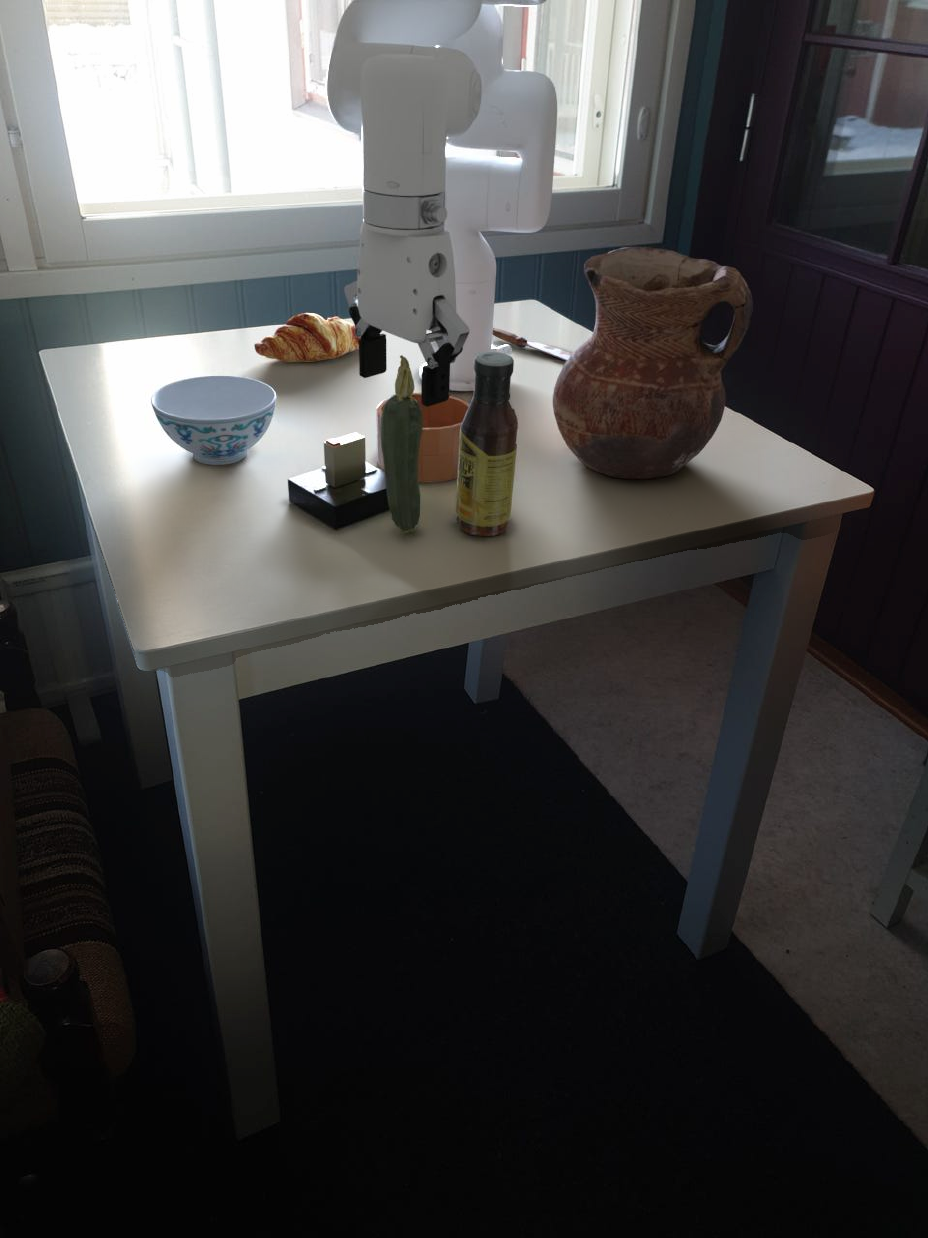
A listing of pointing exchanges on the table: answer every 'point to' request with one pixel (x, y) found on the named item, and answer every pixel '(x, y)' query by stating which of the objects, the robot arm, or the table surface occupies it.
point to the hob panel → (340, 497)
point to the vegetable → (402, 450)
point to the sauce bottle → (487, 449)
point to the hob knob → (344, 459)
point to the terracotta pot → (434, 439)
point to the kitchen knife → (530, 344)
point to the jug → (649, 362)
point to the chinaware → (215, 415)
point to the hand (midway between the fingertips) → (403, 388)
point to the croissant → (309, 339)
